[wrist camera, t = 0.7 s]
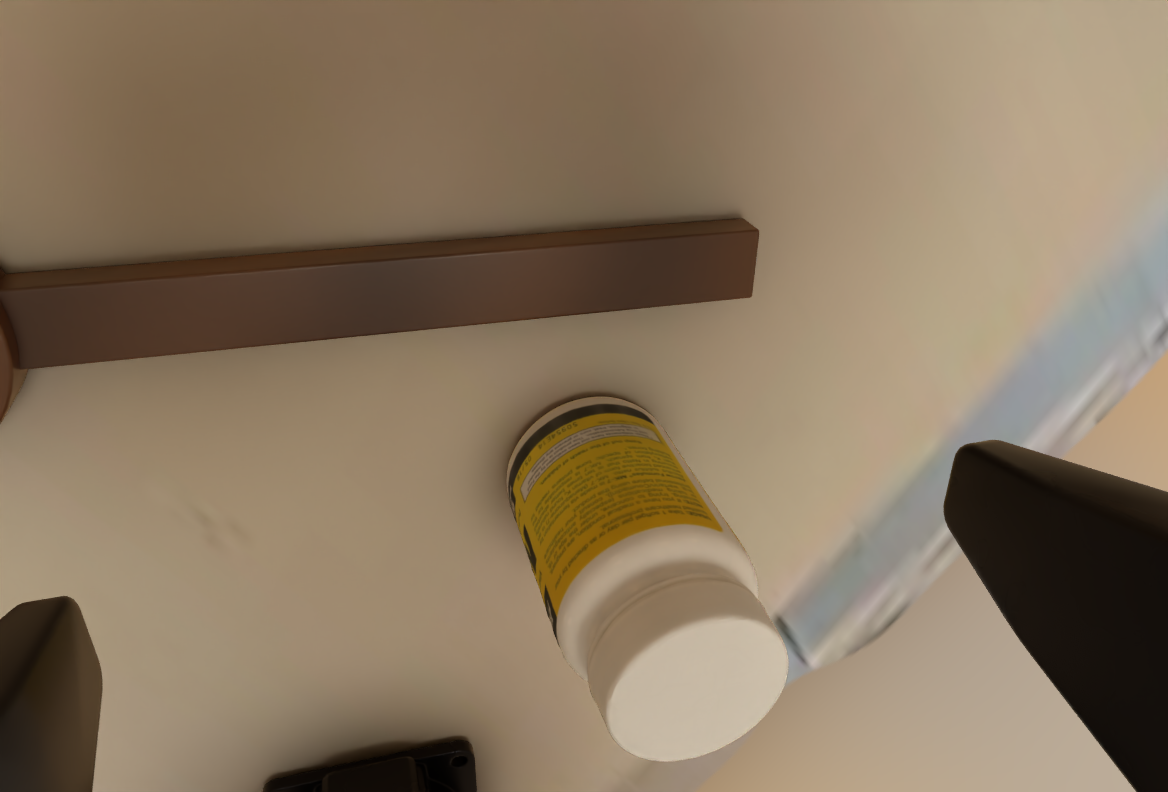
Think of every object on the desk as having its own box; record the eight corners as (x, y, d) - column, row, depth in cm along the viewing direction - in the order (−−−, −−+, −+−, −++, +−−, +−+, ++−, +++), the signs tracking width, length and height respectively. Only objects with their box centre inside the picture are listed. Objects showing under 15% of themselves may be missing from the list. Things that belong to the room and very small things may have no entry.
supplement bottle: (467, 474, 24) (536, 718, 17) (597, 358, 23) (726, 560, 16) (577, 561, 26) (678, 804, 19) (697, 458, 26) (847, 671, 19)
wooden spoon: (752, 132, 21) (780, 147, 20) (728, 355, 24) (752, 380, 23) (-534, 197, 15) (-609, 224, 14) (-359, 480, 18) (-409, 523, 17)
